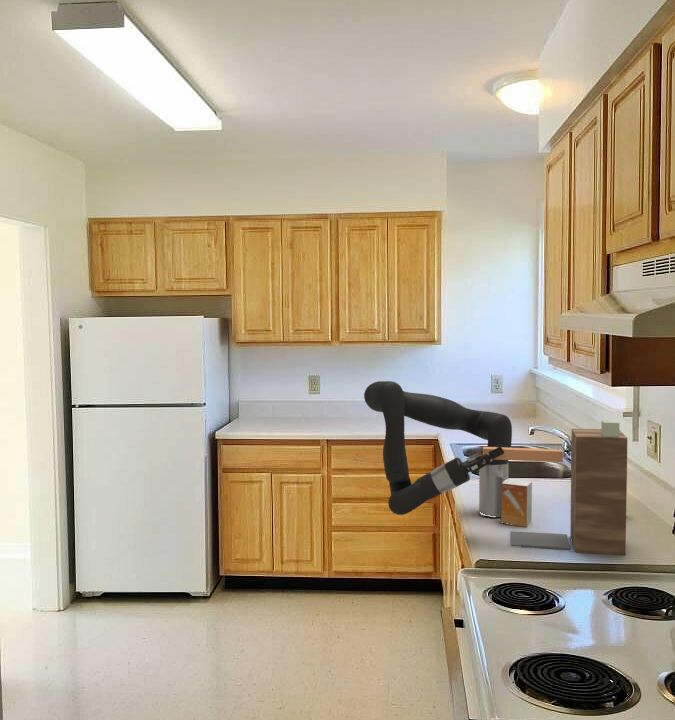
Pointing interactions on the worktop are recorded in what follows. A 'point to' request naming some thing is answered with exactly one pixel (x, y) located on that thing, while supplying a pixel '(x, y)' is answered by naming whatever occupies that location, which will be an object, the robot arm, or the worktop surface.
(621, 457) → the stand
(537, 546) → the mat
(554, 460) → the brown block
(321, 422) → the worktop surface
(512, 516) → the small box
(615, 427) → the sage block
